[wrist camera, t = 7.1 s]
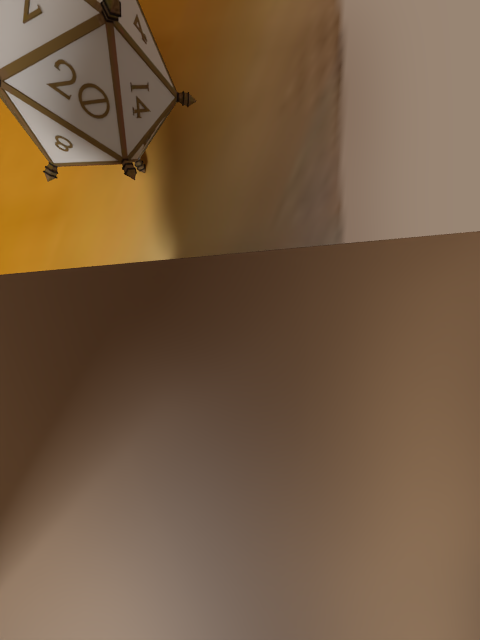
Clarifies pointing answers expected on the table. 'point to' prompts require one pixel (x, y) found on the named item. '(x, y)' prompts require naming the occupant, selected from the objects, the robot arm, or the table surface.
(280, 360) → the brown wooden block
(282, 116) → the table surface
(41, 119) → the game die
